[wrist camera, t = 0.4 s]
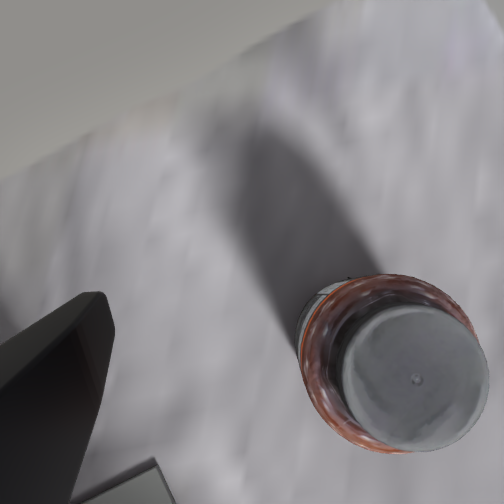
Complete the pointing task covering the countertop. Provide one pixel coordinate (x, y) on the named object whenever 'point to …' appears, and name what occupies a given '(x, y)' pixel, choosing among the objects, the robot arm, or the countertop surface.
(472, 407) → the supplement bottle
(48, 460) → the robot arm
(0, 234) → the countertop surface
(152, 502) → the mat
